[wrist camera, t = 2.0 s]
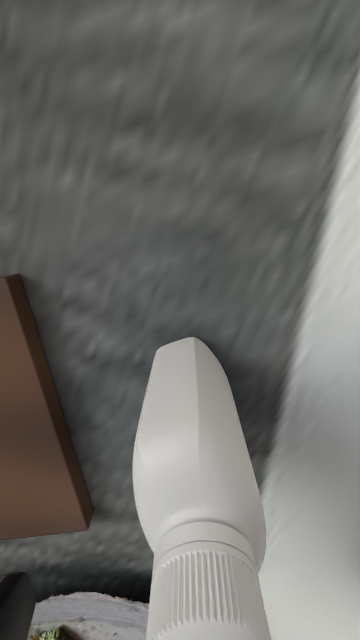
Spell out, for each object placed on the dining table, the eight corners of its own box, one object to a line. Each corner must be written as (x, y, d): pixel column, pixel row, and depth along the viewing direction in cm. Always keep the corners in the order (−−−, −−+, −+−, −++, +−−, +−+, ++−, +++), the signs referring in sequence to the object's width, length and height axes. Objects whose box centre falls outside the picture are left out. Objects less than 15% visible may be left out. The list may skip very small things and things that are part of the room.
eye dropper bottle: (145, 428, 17) (55, 866, 5) (159, 328, 15) (74, 642, 4) (226, 440, 17) (312, 893, 5) (249, 341, 15) (436, 687, 4)
